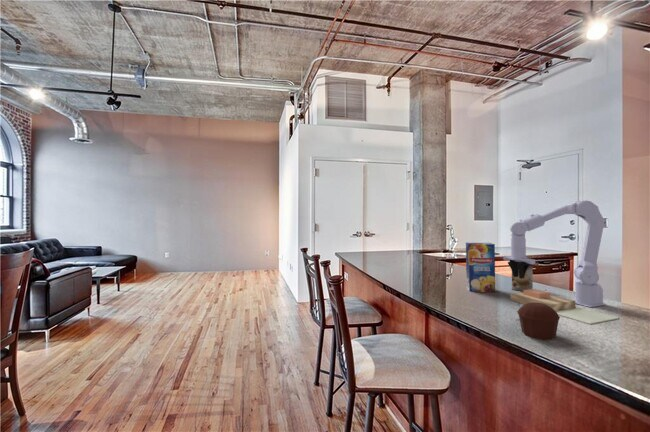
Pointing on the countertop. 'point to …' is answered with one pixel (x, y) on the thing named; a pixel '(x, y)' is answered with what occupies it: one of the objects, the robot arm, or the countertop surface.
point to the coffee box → (523, 280)
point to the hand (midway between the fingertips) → (518, 277)
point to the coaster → (537, 293)
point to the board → (545, 301)
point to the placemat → (586, 315)
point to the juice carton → (480, 267)
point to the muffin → (538, 321)
